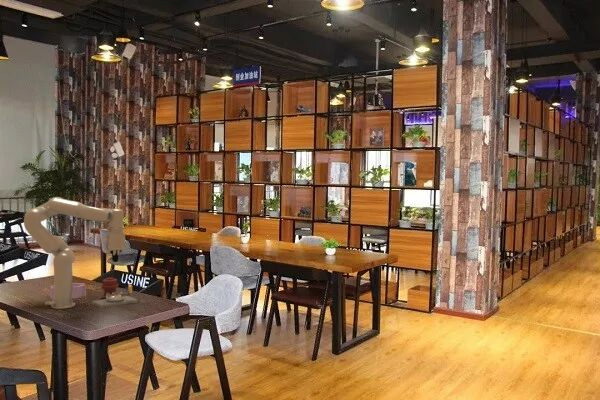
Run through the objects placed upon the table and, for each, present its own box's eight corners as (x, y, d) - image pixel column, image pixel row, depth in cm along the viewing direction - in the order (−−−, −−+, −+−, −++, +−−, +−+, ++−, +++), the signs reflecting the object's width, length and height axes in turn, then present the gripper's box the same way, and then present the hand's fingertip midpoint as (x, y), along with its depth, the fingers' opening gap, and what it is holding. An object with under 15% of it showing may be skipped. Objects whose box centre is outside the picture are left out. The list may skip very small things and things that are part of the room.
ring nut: (132, 300, 314) (132, 285, 314) (107, 302, 308) (107, 287, 307) (129, 297, 323) (129, 282, 323) (104, 299, 317) (104, 284, 316)
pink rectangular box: (51, 300, 319) (51, 288, 319) (49, 296, 330) (49, 285, 330) (86, 297, 329) (86, 286, 329) (83, 293, 340) (83, 282, 340)
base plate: (101, 307, 303) (101, 305, 303) (92, 303, 312) (92, 301, 312) (137, 302, 318) (137, 299, 318) (127, 298, 327) (127, 295, 327)
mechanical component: (121, 296, 331) (112, 300, 321) (107, 295, 333) (97, 299, 323) (121, 277, 330) (112, 280, 321) (107, 276, 332) (97, 279, 323)
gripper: (105, 231, 301) (105, 263, 302) (131, 230, 311) (130, 261, 312) (100, 229, 307) (99, 261, 307) (125, 229, 317) (124, 259, 317)
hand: (115, 261), depth 310 cm, fingers closed
